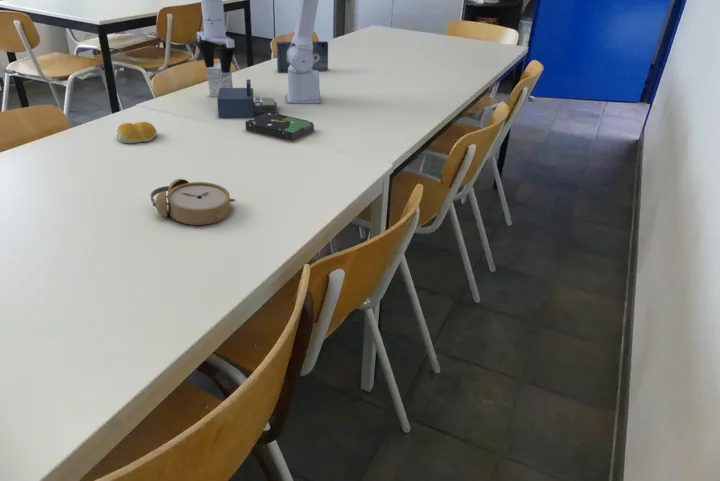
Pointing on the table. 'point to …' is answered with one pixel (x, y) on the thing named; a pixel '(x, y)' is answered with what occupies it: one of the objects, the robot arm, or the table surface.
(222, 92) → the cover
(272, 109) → the control panel
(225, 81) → the medicine box
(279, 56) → the vhs cassette tape
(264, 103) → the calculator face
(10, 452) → the table surface
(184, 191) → the alarm clock
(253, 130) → the disk drive
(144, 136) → the bread roll
